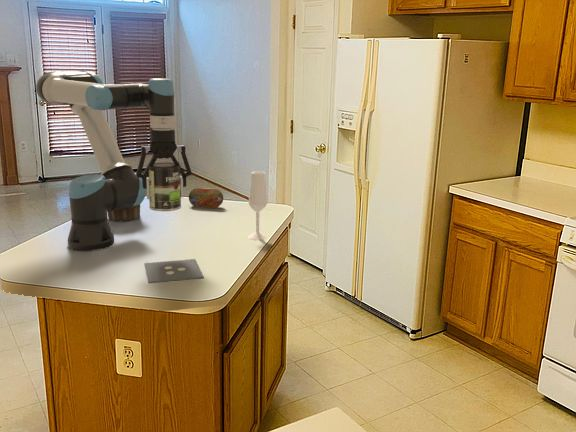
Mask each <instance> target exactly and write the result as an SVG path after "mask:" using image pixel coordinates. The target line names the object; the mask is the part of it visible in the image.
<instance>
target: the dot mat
mask: <svg viewBox="0 0 576 432" xmlns="http://www.w3.org/2000/svg"><path fill="white" fill-rule="evenodd" d="M144 268H145V273H146V277H147V281H148V284H151V283H153V284H154V283H163V282H175V281H184V280H185V281H186V280H196V279H205V277H204V274H203V271H202V270H201V268H200V266H199V264H198V261H197V260H196V258H191V259H181V260H180V259H178V260H169V261H168V260H166V261H165V260H164V261H156V262H145V263H144Z"/></svg>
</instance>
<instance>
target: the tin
mask: <svg viewBox="0 0 576 432" xmlns="http://www.w3.org/2000/svg"><path fill="white" fill-rule="evenodd" d="M188 194H189V195H188V201H189V203H190V204H191V205H192V207H195V208H201V207H203V208H204V209H206V208H207V209H216V208H218V207H220V206H221V205H222V204H223V202H224V195H223V192H222V191H221V190H219V189H217V188H209V187H207V188H205V187H196V188H193V189H191V191H190V192H189V193H188Z"/></svg>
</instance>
